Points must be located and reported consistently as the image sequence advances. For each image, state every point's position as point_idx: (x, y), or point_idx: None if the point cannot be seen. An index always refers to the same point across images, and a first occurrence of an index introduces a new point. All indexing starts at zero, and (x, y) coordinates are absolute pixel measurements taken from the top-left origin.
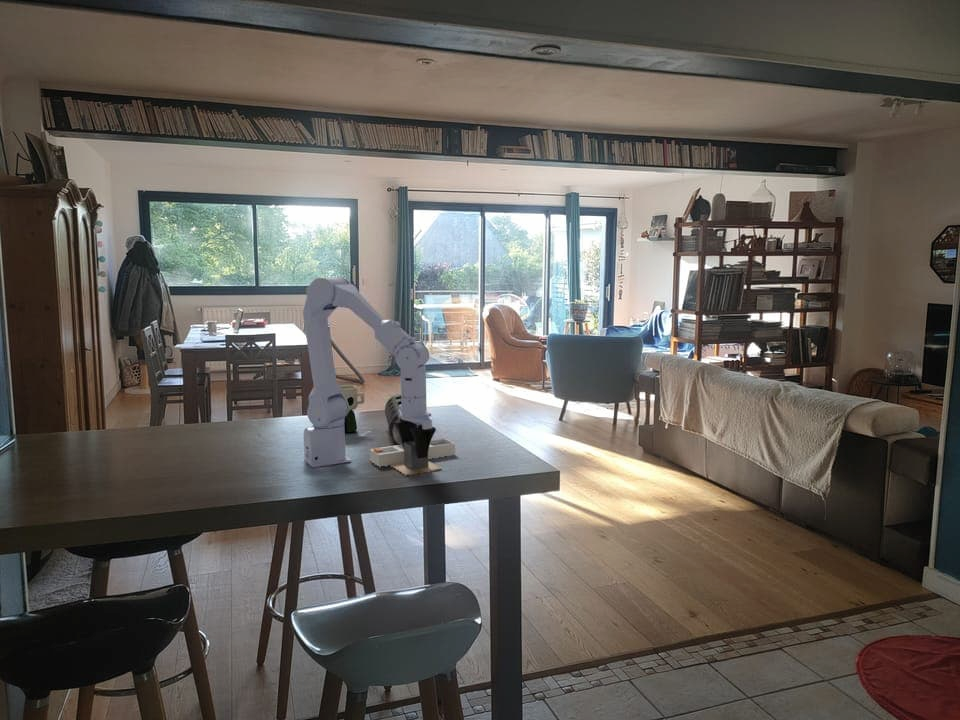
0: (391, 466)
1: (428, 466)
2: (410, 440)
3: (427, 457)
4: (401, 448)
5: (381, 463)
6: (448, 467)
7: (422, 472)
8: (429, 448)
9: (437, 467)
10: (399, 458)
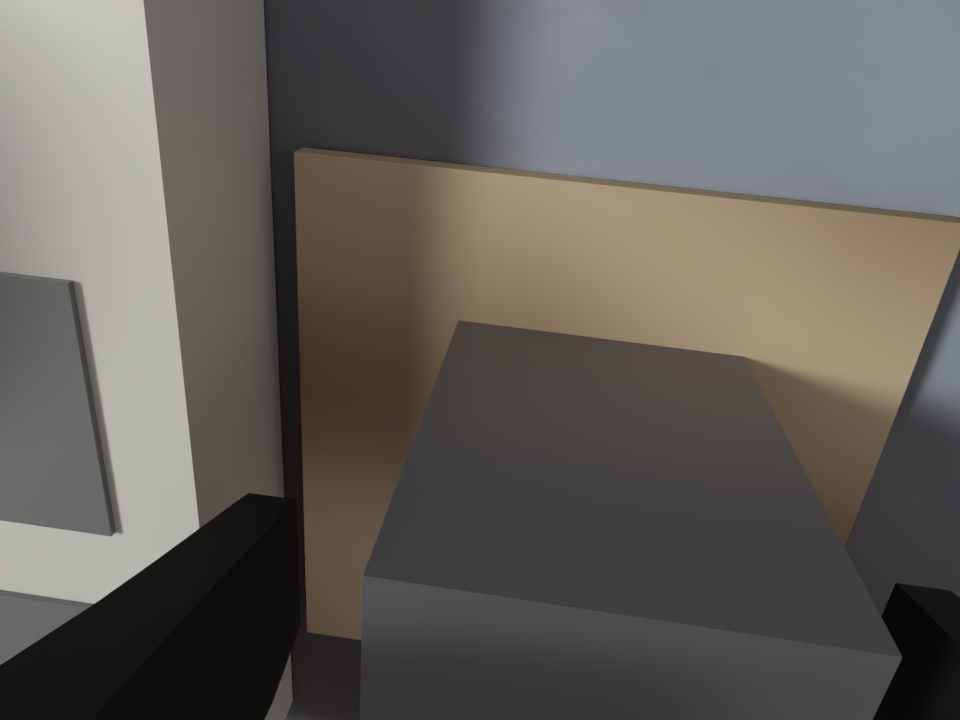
0: (353, 629)
1: (715, 338)
2: (201, 685)
3: (783, 453)
4: (31, 520)
5: (278, 718)
6: (934, 23)
7: (850, 514)
8: (162, 28)
9: (872, 254)
10: None
